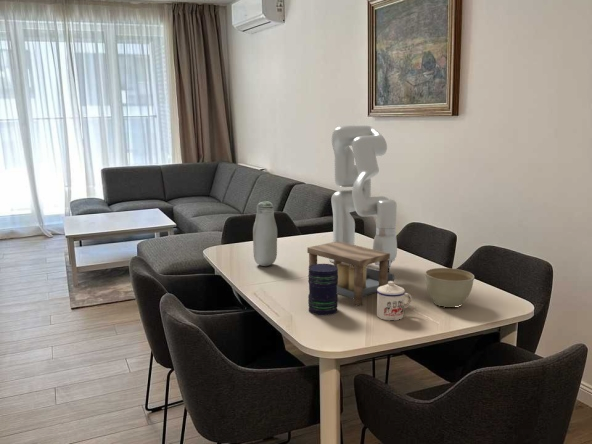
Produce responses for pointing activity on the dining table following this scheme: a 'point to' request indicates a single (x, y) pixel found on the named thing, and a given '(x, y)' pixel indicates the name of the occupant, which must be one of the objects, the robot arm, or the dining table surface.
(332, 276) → the storage jar
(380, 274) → the low table
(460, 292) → the planter bowl
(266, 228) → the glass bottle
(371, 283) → the tray
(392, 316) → the teacup with lid
